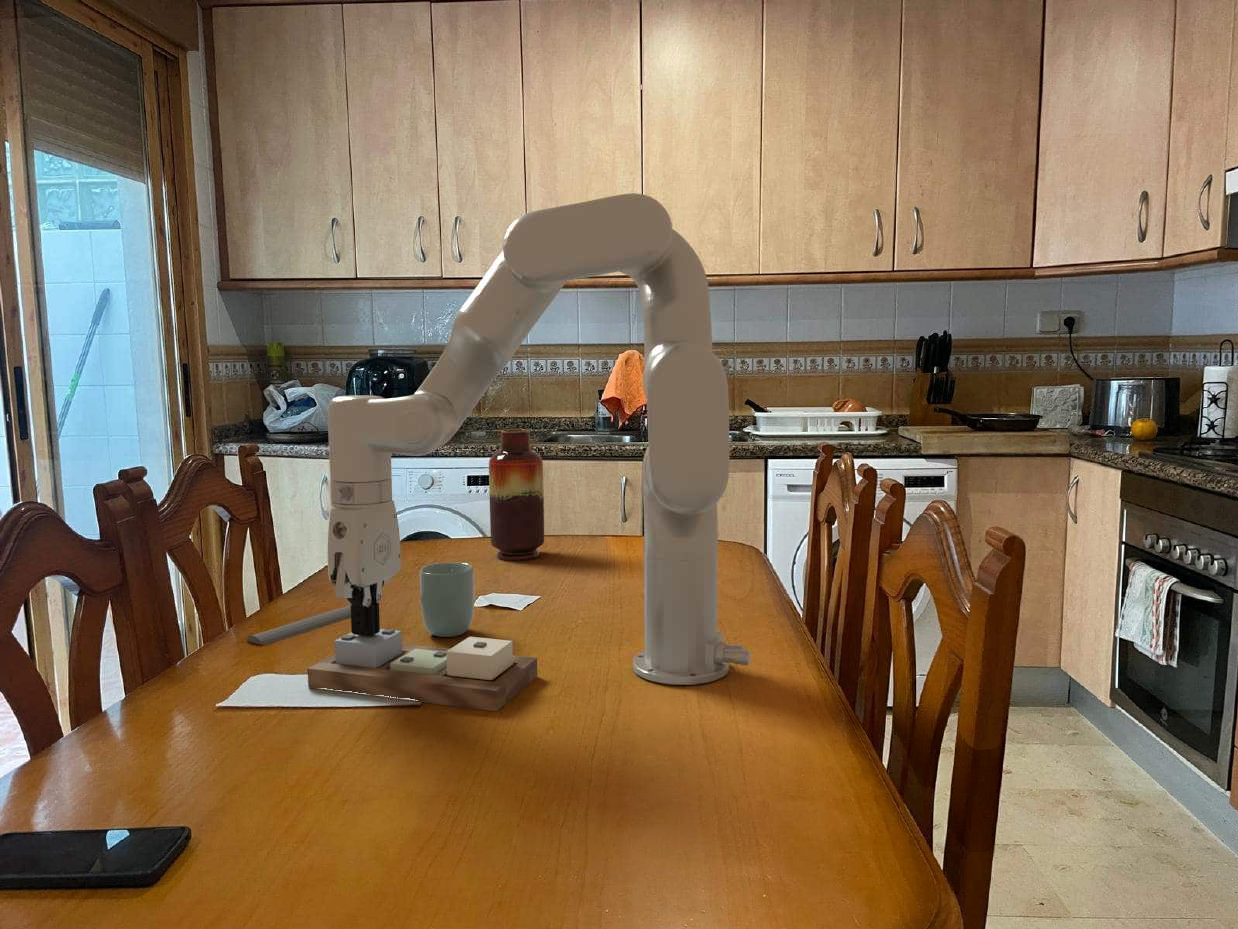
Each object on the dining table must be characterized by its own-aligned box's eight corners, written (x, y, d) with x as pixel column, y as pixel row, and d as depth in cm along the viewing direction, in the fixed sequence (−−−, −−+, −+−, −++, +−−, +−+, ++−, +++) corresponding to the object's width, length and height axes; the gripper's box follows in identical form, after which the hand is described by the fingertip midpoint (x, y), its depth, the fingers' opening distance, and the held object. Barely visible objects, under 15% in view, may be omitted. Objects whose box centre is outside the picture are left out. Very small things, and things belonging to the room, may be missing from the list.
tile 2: (456, 675, 116) (456, 650, 116) (433, 691, 110) (432, 666, 110) (416, 670, 118) (415, 646, 118) (390, 686, 112) (389, 661, 112)
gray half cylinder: (244, 645, 131) (243, 633, 131) (348, 612, 148) (347, 602, 148) (263, 650, 129) (262, 638, 129) (366, 616, 146) (366, 605, 145)
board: (537, 676, 116) (537, 657, 116) (496, 711, 104) (495, 690, 104) (363, 657, 124) (363, 639, 124) (308, 687, 113) (307, 668, 112)
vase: (555, 553, 188) (553, 429, 185) (522, 564, 179) (519, 433, 175) (513, 548, 194) (511, 427, 191) (479, 558, 184) (476, 431, 181)
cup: (463, 643, 130) (461, 575, 129) (413, 640, 131) (411, 573, 130) (482, 627, 137) (480, 563, 136) (434, 624, 139) (432, 561, 138)
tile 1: (513, 663, 113) (512, 638, 113) (491, 680, 108) (491, 653, 107) (470, 659, 115) (469, 634, 115) (447, 675, 110) (446, 649, 109)
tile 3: (402, 653, 118) (401, 628, 118) (376, 668, 113) (375, 642, 112) (362, 648, 120) (361, 624, 120) (335, 663, 114) (334, 638, 114)
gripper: (352, 503, 106) (356, 654, 108) (418, 486, 120) (421, 620, 122) (298, 500, 108) (304, 648, 110) (369, 483, 122) (373, 615, 124)
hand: (365, 633), depth 116 cm, fingers closed
